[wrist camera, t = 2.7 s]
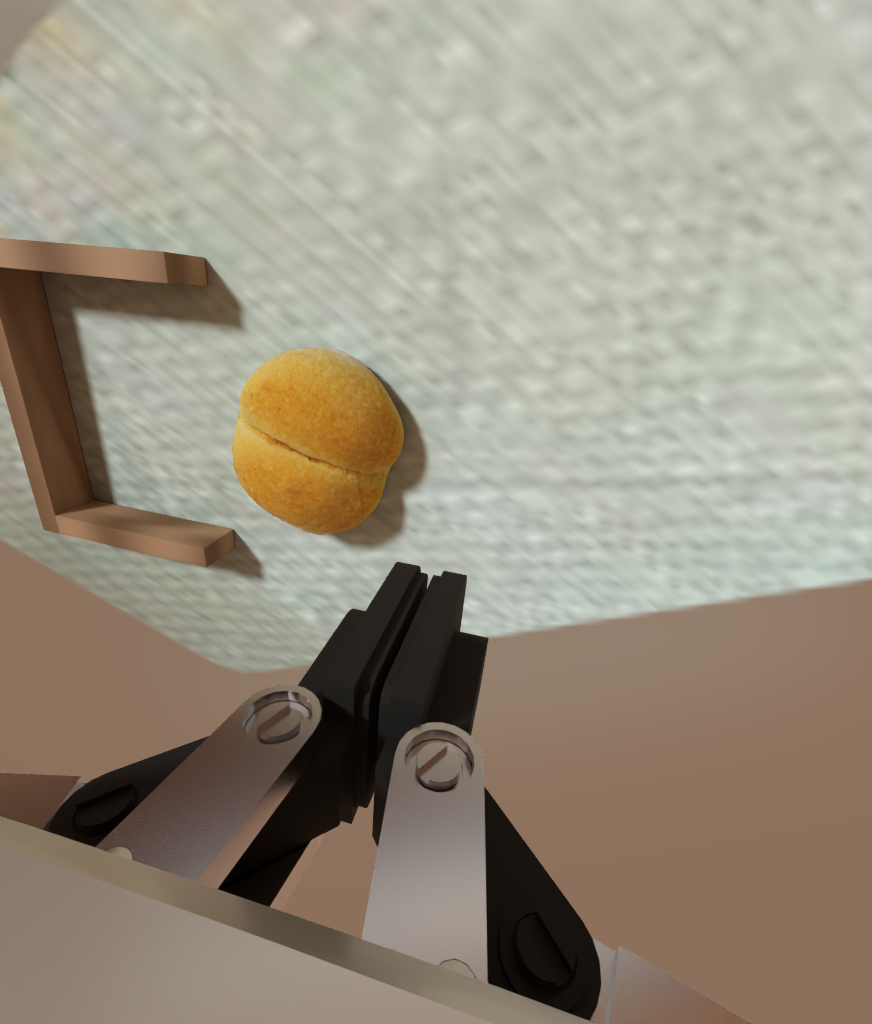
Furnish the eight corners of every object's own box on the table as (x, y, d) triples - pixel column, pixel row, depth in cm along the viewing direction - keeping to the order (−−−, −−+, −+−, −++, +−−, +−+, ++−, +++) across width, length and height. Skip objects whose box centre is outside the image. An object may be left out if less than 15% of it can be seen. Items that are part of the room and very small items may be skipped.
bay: (204, 257, 22) (163, 251, 20) (234, 547, 28) (206, 567, 26) (14, 241, 24) (-42, 234, 22) (81, 513, 30) (43, 529, 28)
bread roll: (430, 389, 22) (404, 404, 18) (368, 538, 26) (336, 574, 22) (276, 312, 22) (221, 312, 19) (238, 471, 26) (187, 496, 23)
